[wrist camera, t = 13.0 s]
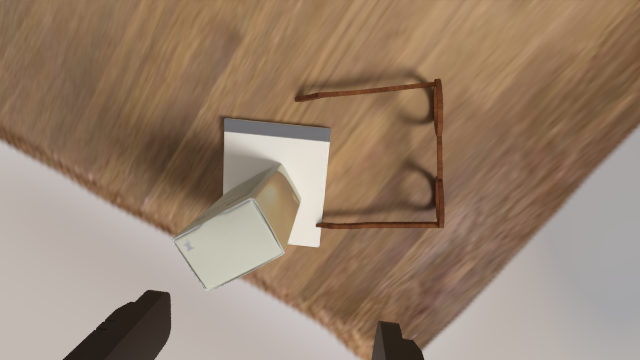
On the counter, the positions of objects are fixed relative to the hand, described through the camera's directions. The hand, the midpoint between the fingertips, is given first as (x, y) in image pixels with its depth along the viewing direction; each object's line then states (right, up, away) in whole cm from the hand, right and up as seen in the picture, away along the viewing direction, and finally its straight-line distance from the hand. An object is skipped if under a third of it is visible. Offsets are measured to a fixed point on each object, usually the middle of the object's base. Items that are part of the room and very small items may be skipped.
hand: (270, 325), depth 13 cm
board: (-3, +5, +20) cm, 21 cm away
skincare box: (-3, +4, +20) cm, 21 cm away
